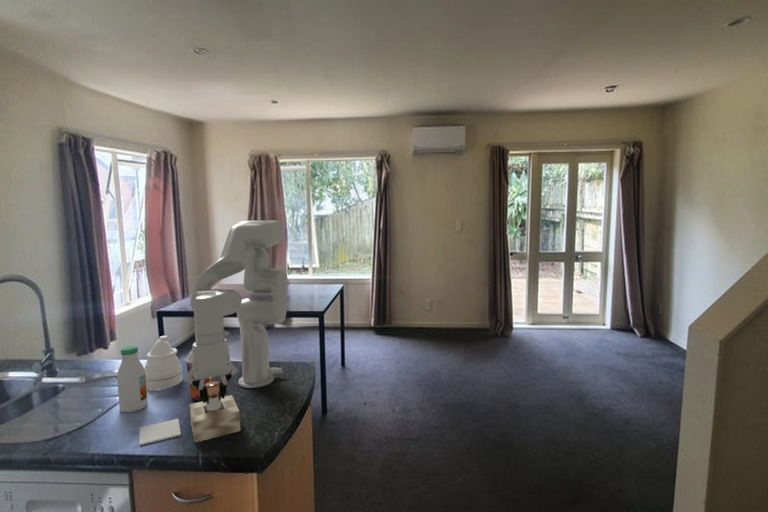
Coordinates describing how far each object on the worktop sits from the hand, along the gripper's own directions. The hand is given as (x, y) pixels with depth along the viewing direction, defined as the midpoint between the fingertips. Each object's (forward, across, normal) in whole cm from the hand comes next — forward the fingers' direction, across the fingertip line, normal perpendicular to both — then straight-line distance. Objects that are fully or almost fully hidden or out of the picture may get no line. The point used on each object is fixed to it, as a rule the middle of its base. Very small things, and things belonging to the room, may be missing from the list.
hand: (213, 398), depth 118 cm
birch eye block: (+9, 0, 0) cm, 9 cm away
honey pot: (+9, +12, -44) cm, 47 cm away
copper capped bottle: (+9, 0, 0) cm, 9 cm away
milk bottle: (+9, +21, -27) cm, 35 cm away
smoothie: (+9, +1, -24) cm, 26 cm away
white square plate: (+9, +14, -5) cm, 17 cm away
